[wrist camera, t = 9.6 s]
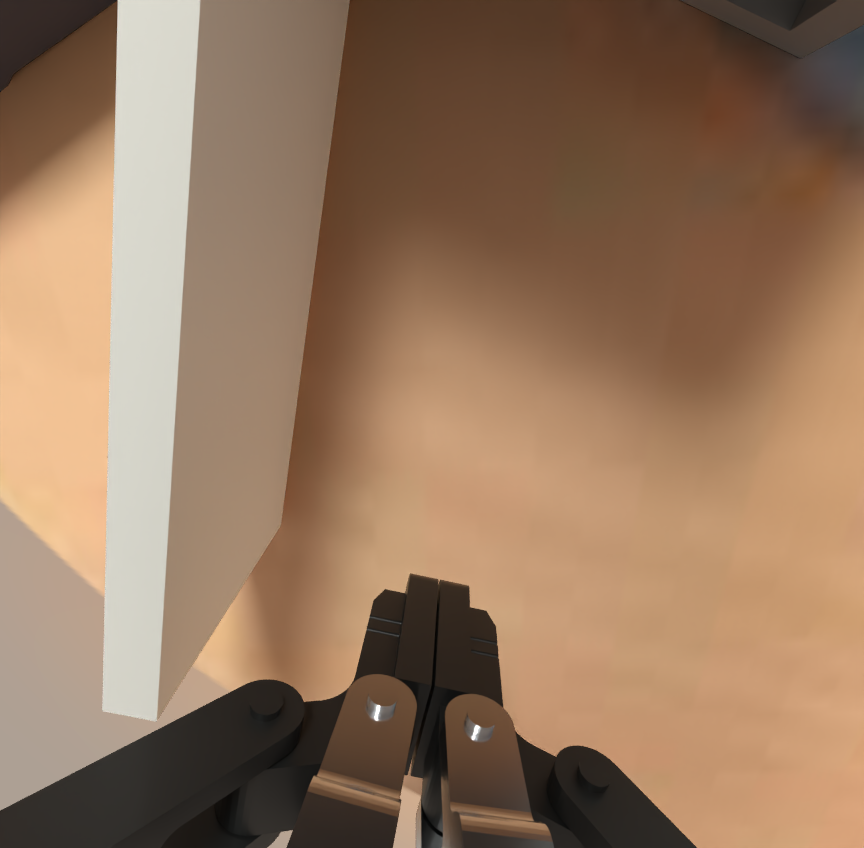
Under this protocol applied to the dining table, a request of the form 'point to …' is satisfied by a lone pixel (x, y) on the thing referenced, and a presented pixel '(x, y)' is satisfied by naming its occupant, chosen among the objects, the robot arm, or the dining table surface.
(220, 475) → the side door
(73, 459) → the dining table surface
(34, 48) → the calculator
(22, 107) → the dining table surface
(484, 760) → the robot arm
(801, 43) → the grey boxy piece
